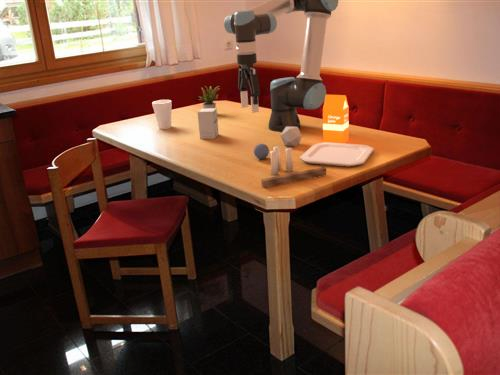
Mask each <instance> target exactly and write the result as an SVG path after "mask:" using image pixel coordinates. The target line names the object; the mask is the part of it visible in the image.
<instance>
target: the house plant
mask: <svg viewBox="0 0 500 375" xmlns="http://www.w3.org/2000/svg"><path fill="white" fill-rule="evenodd" d="M204 87H205V88H206V90H205V89H204ZM204 87H200V88H201V90H202V96H198V98H200V99H198V101H202V102H203V103H202V106H203V108H202V109H206V108H217V107H216V106H217V105H216V104H217V102H214V101H217V99H219V98H218V96H219V95H220V93H219V94H216V93H217V92H218V91H219V90H220V89H221V88H219V87H220V85H218V86H216V87H214V89H213V88H212V86H209V87H207V86H206V85H204ZM208 88H209V89H208ZM206 91H207V92H206Z"/></svg>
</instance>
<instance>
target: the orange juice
mask: <svg viewBox="0 0 500 375" xmlns="http://www.w3.org/2000/svg"><path fill="white" fill-rule="evenodd" d="M349 108H350V107H349V104H348V99H347V96H346V94H345V95H344V94H343V95H342V94H326V96H325V100H324V102H323V108H322V143H324V142H329V143H345V144H347V142H348V141H349V129H350V128H349V127H350V126H349V124H350V123H349V122H350V121H349V120H350V119H349V114H350V113H349V112H350V111H349Z"/></svg>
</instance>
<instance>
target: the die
mask: <svg viewBox="0 0 500 375" xmlns="http://www.w3.org/2000/svg"><path fill="white" fill-rule="evenodd" d="M302 138H303V136H302V134H301V131H300V128H298V127H285V129H284V130H283V131H281V134H280V139H281V140H282V143H283V145H284V146H285V147H298V145H299V143H300V142H301V140H302Z"/></svg>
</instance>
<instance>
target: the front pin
mask: <svg viewBox="0 0 500 375" xmlns="http://www.w3.org/2000/svg"><path fill="white" fill-rule="evenodd" d="M273 151H277V160H278V171H280V170H281V171H282V166H281V165H282V163H281V147H280V146H277V145H276V146H273Z"/></svg>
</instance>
